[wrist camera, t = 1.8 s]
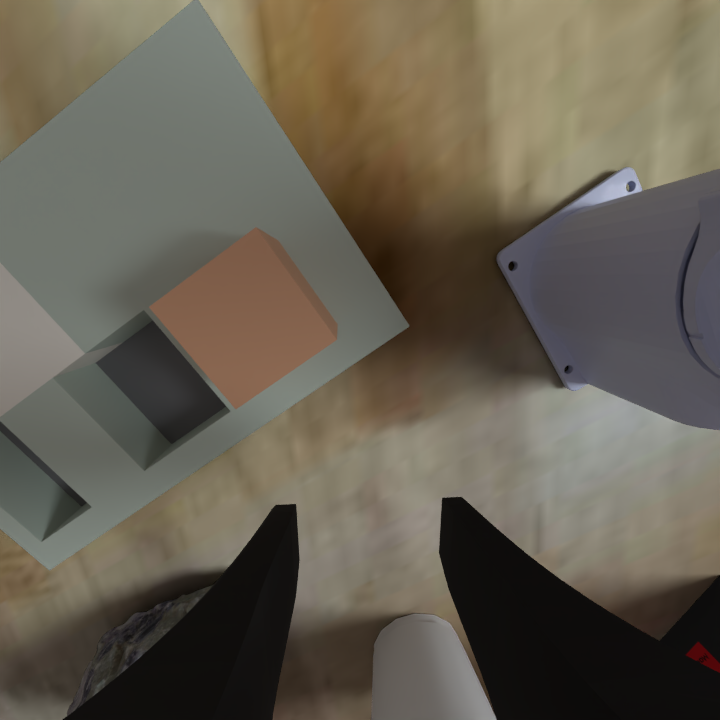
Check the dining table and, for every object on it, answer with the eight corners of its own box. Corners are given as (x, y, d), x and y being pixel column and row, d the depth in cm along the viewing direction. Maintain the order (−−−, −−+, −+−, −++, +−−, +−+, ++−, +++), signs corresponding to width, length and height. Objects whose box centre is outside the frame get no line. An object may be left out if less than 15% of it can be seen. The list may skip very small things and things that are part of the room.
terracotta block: (337, 324, 16) (337, 339, 12) (260, 377, 16) (235, 409, 12) (278, 240, 15) (256, 226, 11) (198, 299, 15) (148, 307, 11)
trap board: (399, 318, 19) (409, 326, 16) (90, 529, 21) (49, 570, 18) (223, 50, 15) (196, -3, 13) (-125, 333, 18) (-218, 344, 15)
